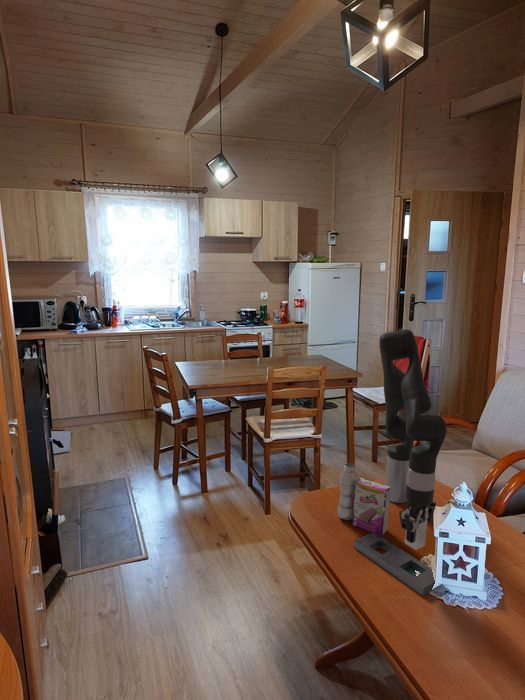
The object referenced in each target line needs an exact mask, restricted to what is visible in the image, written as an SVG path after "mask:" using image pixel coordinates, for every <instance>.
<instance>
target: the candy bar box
mask: <svg viewBox="0 0 525 700" xmlns="http://www.w3.org/2000/svg"><path fill="white" fill-rule="evenodd" d="M390 491H391V487H389V486H386V485H385V484H382V483H379V482H375V481H372V480H369V479H366V478H363V477H359V478H358V481H356V483H355V492H354V505H353V518H352V520H351V526H353V527H356V528H358V529H362V530H365V531H367V532H368V533H369V532H370V533H372V532H375V533H377V534H378V535H380V536H381V537H383V536H384V535H385V533H386V532H387V530H388V523H389V522H388V521H389V510H390V502H391V501H390Z"/></svg>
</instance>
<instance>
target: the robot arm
mask: <svg viewBox="0 0 525 700" xmlns="http://www.w3.org/2000/svg"><path fill="white" fill-rule="evenodd" d="M378 342H379V345H378V346H379V351H380V352H379V353H380V358H381V359H380V360H381V364H382V372H383V373H382V375H383V377H382V378H383V394H384V401H385V434H386V435H387V437H388V438H391V439H393V440H399V441H403V442H402V443H399V444H398V443H397V444H393V445H390V446H389V447H388V449H387V457H386V458H387V459H386V471H385V484H384V485H386V486H389V487H391V491H390V501H389V502H392V503H394V504H395V503H396V504H405V503H407V505H406V507H405V508H406V509H405V510H404V511H402V510H400V511H399V512H398V514H399V520H400V527H401V529H403V530H404V531H405V533H406V540H407V541H408V542H410V543H413V542H414V536H415V528H416V524H418V523H419V519H420V518H423V519H424V520H428V521H427V524H428V523H432V519H433V516H434V513H435V509H436V506H437V503H436V502H435V501H434V495H435V486H436V470H437V469H436V467H437V457H438V456H439V452H440V451H441V448H442V445H443V443H444V442H445V438H446V436H447V433H448V432H447V431H448V429H447V428H448V427H447V422H446V420H445V419H444V418H443V417H442V416H440V415H433V414H431V415H430V414H429V415H427V414H426V413H428V412H429V411H431V408H432V401H431V398H430V395H429V392H428V389H427V387H426V383H425V381H424V379H425V378H424V374H423V369H422V363H421V358H420V353H419V349H418V344H417V340H416V337H415V335H414V333H413V331H412V330H410V329H400V330H394V331H388V332H384V333H382V334H380V336H379V341H378ZM406 359H408V361H409V363H408V366H407V369H406V371H405V372H404V371H402V370H401V369H400V368H399V367H398V366H396V364H395V363H394V361H398V360H399V361H400V360H406ZM404 408H405V413H406V415H402V414H398V413H399V412H400V411H402V410H403V409H404ZM425 414H426V415H425ZM415 442H424V443H423V444H420V445H417V446H414V444H415ZM411 517H412V518H414V519H415V520H414V519H412V518H411ZM410 522H411V523H412V526H411V525H410ZM406 530H407V532H406Z"/></svg>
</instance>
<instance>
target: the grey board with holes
mask: <svg viewBox="0 0 525 700" xmlns="http://www.w3.org/2000/svg"><path fill="white" fill-rule="evenodd" d="M353 543H354V544H353V547H354V549H355V550H357V551H358V552H359V553H361V554H362V555H364V556H365V557H367V558H368V559H369V560H370V561H373V563H375V564H376V565H378V566H380V567H381V568H382V569H383V570H385V571H386V572H387V573H389V574H390V575H392V576H393V577H395V578H396V579H398V580H399V581H400V582H402V583H403V584H404V585H406V586H407V587H409V588H410V589H412V591H414V592H416V593H417V594H419V596H421V597H424V596H426V595H427V594H429V593H431V592H432V591H433V590H432V588H433V586H434V584H435V580H434V577H433V572H432V568H431V567H429V566H427V564H425V563H423V562H421V560H419V559H417V558H416V557H414V556H412V555H410V554H409V553H407V552H406V551H404V550H403V549H401V548H400V547H398V546H397V545H395V544H393V543H392V542H390V541H389V540H388V539H386V538H384V537H383V536H381V535H378V534H377V533H375V532H370V533H368V534H366V535H362V536H361V537H359V538H357V539H355V540H354V542H353ZM379 548H380V549H382V550H384V551H385V553H383V554H382V553H380V552H378V551H377V550H376V549H379ZM415 570H416V571H419V572H420V573H421V574H419V575H418V576H416V574H415V573H416V572H415ZM431 590H432V591H431Z"/></svg>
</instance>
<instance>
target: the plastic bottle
mask: <svg viewBox="0 0 525 700" xmlns="http://www.w3.org/2000/svg"><path fill="white" fill-rule="evenodd" d="M343 466H344V467H343V472H342V473H341V474H340V475H339V480H338V481H339V503H338V506H337V515H338V517H339V518H341V520H344V521H352V518H353V505H354V492H355V483H356V481H358V480H359V477H358V476H357V474H356V473H355V472H356V465H355V464H353V463H345V464H344V465H343Z"/></svg>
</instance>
